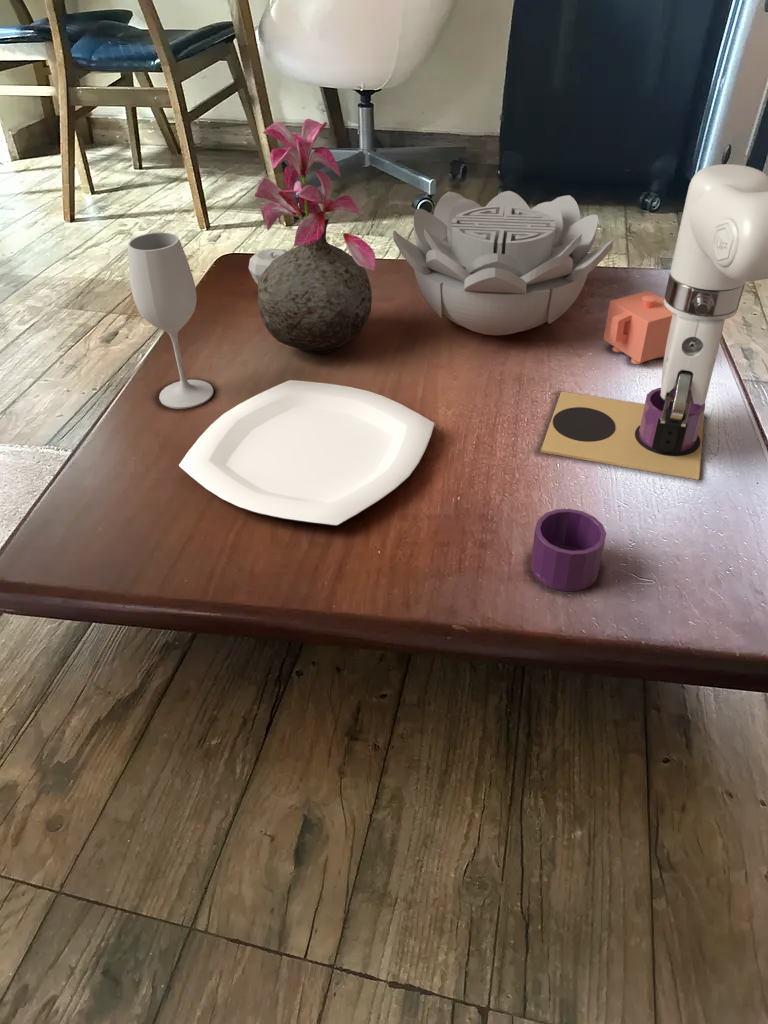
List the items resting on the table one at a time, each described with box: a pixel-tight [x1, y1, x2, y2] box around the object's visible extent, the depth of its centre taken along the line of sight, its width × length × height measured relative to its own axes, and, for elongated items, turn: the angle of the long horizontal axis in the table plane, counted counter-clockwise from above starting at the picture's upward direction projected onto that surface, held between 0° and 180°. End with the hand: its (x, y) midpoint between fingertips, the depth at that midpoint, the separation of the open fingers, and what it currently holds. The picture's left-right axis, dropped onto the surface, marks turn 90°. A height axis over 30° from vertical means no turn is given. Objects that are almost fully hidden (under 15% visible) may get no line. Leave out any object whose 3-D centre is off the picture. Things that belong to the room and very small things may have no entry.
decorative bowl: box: [392, 190, 614, 336], centre depth 115 cm, size 30×30×15 cm
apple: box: [248, 248, 288, 286], centre depth 129 cm, size 8×8×7 cm
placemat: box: [540, 391, 705, 481], centre depth 96 cm, size 18×14×1 cm
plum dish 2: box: [639, 387, 706, 452], centre depth 93 cm, size 7×7×5 cm
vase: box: [254, 118, 377, 355], centre depth 107 cm, size 17×17×30 cm
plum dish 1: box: [530, 508, 607, 592], centre depth 77 cm, size 7×7×5 cm
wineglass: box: [127, 231, 214, 410], centre depth 99 cm, size 8×8×21 cm
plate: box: [178, 379, 435, 527], centre depth 93 cm, size 27×27×2 cm
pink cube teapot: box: [603, 290, 673, 365], centre depth 109 cm, size 8×12×8 cm, turn 116°
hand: (668, 432), depth 94 cm, fingers closed on plum dish 2, 6 cm apart
